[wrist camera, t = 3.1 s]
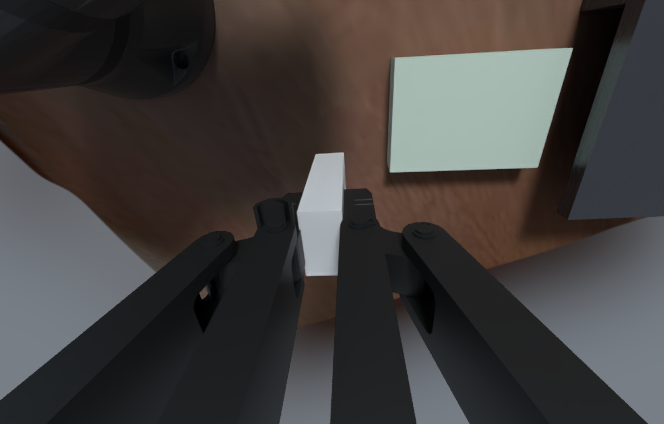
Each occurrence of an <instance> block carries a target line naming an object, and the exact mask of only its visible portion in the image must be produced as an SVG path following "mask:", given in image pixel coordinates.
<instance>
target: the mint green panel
mask: <svg viewBox="0 0 664 424" xmlns="http://www.w3.org/2000/svg"><path fill="white" fill-rule="evenodd" d="M572 50H573V48H553V49H536V50H518V51H501V52H484V53H467V54H450V55H433V56H416V57H398V58H391V69H390V95H389V121H388V147H387V166H388V168H389V171H390V172H420V171H450V170H480V169H510V168H538V165H539V161H540V158H541V155H542V151H543V148H544V145H545V141H546V138H547V134H548V131H549V128H550V124H551V121H552V118H553V114H554V111H555V107H556V104H557V101H558V97H559V94H560V91H561V87H562V84H563V80H564V77H565V74H566V70H567V67H568V64H569V60H570V57H571V53H572Z"/></svg>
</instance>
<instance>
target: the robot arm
mask: <svg viewBox="0 0 664 424" xmlns="http://www.w3.org/2000/svg"><path fill="white" fill-rule="evenodd" d="M214 26H215V24H214V7H213V0H0V94H8V93H17V92H25V91H34V90H42V89H51V88H59V87H68V86H75V85H79V86H82V87H86V88H89V89H93V90H97V91H100V92H104V93H107V94H111V95H115V96H118V97H123V98H129V99H152V98H157V97H162V96H166V95H170V94H173V93H176V92H178V91H180V90H182V89H184V88H185V87H187V86H188V85H189V84H191V83H192V82H193V81H194V80H195V79H196V78H197V76H198V75H199V74H200V72H201V71H202V70H203V68H204V66H205V64H206V62H207V60H208V57H209V55H210V52H211V48H212V43H213V38H214ZM253 209H254V214H255V218H256V222H257V227H258V229H257V231H256V233H255V235H254V237H251V238H248V239H244V240H239V241H235V239H234V236H233V235H232V234H231V233H230V232H226V231H215V232H210V233H208V234H206V235H204V236H202V237H200V238H199V239H197V240H196V241H194V242H193V243H192V244H191V245H190V246H188V247H187V248H186V249H185V250H183V251H182V252H181V253H180V254H179V255H177V256H176V257H175V258H174V259H172V260H171V261H170V262H169V263H168V264H166V265H165V266H164V267H163V268H161V269H160V270H159V271H158V272H157V273H155V274H154V275H153V276H152V277H150V278H149V279H148V280H147V281H146V282H144V283H143V284H142V285H141V286H140V287H138V288H137V289H136V290H135V291H133V292H132V293H131V294H130V295H128V296H127V297H126V298H125V299H124V300H122V301H121V302H120V303H119V304H117V305H116V306H115V307H114V308H113V309H111V310H110V311H109V312H108V313H106V314H105V315H104V316H103V317H102V318H100V319H99V320H98V321H97V322H96V323H94V324H93V325H92V326H91V327H89V328H88V329H87V330H86V331H84V332H83V333H82V334H81V335H80V336H78V337H77V338H76V339H75V340H73V341H72V342H71V343H70V344H69V345H67V346H66V347H65V348H64V349H62V350H61V351H60V352H59V353H58V354H56V355H55V356H54V357H53V358H51V359H50V360H49V361H48V362H47V363H45V364H44V365H43V366H42V367H40V368H39V369H38V370H37V371H36V372H34V373H33V374H32V375H31V376H29V377H28V378H27V379H26V380H25V381H23V382H22V383H21V384H20V385H18V386H17V387H16V388H15V389H14V390H12V391H11V392H10V393H9V394H7V395H6V396H5V397H4V398H3V399H1V400H0V424H279V422H280V416H281V411H282V406H283V400H284V395H285V389H286V383H287V378H288V372H289V367H290V361H291V357H292V351H293V345H294V340H295V335H296V329H297V324H298V318H299V313H300V307H301V302H302V297H303V291H304V286H305V285H304V277H303V272H304V267H305V271H306V276H326V275H338V277H337V298H336V318H335V338H334V358H333V379H332V399H331V420H330V424H416V418H415V413H414V407H413V402H412V397H411V392H410V386H409V381H408V375H407V370H406V364H405V359H404V353H403V348H402V343H401V337H400V333H399V327H398V321H397V316H396V310H395V305H394V299H393V294H392V292H394V293H398V294H399V295H400V298H401V301H402V303H403V305H404V306H405V308H406V310H407V312H408V314H409V315H410V317H411V319H412V321H413V323H414V324H415V326H416V328H417V330H418V331H419V333H420V335H421V337H422V339H423V341H424V342H425V344H426V346H427V348H428V349H429V351H430V353H431V354H432V357H433V359H434V360H435V362H436V364H437V366H438V368H439V369H440V371H441V373H442V375H443V377H444V378H445V380H446V382H447V384H448V385H449V387H450V389H451V391H452V393H453V395H454V396H455V398H456V400H457V402H458V404H459V405H460V407H461V409H462V411H463V413H464V414H465V416H466V418H467V420H468V421H469V423H470V424H648V423H647V422H646V421H644V419H642V418H641V417H640V416H639V415H638V414H637V413H636V412H635V411H634V410H633V409H632V408H631V407H630V406H629V405H628V404H627V403H625V401H624V400H622V399H621V398H620V397H619V396H618V395H617V394H616V393H615V392H614V391H613V390H612V389H611V388H610V387H609V386H608V385H607V384H606V383H605V382H604V381H603V380H602V379H600V378H599V377H598V376H597V375H596V374H595V373H594V372H593V371H592V370H591V369H590V368H589V367H588V366H587V365H586V364H585V363H584V362H583V361H582V360H581V359H579V358H578V357H577V356H576V355H575V354H574V353H573V352H572V351H571V350H570V349H569V348H568V347H567V346H566V345H565V344H564V343H563V342H562V341H561V340H560V339H559V338H557V337H556V336H555V335H554V334H553V333H552V332H551V331H550V330H549V329H548V328H547V327H546V326H545V325H544V324H543V323H542V322H541V321H540V320H539V319H538V318H536V317H535V316H534V315H533V314H532V313H531V312H530V311H529V310H528V309H527V308H526V307H525V306H524V305H523V304H522V303H521V302H520V301H519V300H518V299H517V298H515V297H514V296H513V295H512V294H511V293H510V292H509V291H508V290H507V289H506V288H505V287H504V286H503V285H502V284H501V283H499V281H497V279H496V278H494V277H493V276H492V275H491V274H490V273H489V272H488V271H487V270H486V269H485V268H484V267H483V266H482V265H481V264H480V263H479V262H478V261H477V260H476V259H475V258H473V257H472V256H471V255H470V254H469V253H468V252H467V251H466V250H465V249H464V248H463V247H462V246H461V245H460V244H459V243H458V242H457V241H456V240H455V239H454V238H452V237H451V236H450V235H449V234H448V233H447V232H446V231H445V230H444V229H443V228H441V227H440V226H438V225H435V224H432V223H428V222H416V223H412V224H408V225H407V226H406V227H404V229H403V231H402V233H398V232H392V231H389V230H386V229H384V228H382V227H380V224H379V222H378V220H377V219H376V215H375V209H374V204H373V198H372V193H371V192H370V191H369V190H367V189H366V188H364V189H346V182H345V164H344V152H343V153H326V154H316V155H315V158H314V161H313V164H312V167H311V170H310V173H309V176H308V179H307V182H306V185H305V189H304V192H300V193H288V194H286V195H285V196H284V197H282V198H272V199H267V200H264V201H261V202H259V203H257V204H256V205H255V206H254V207H253ZM205 286H206V289H207V291H208V295H207V296H206V297H205V298H204V299H201V297H200V294H199V293H200V292H201V291H202V289H203V288H204V287H205Z"/></svg>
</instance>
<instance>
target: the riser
mask: <svg viewBox="0 0 664 424" xmlns="http://www.w3.org/2000/svg"><path fill="white" fill-rule="evenodd" d="M614 8H624V11H623V14H622V17H621V20H620V23H619V26H618V29H617V32H616V35H615V38H614V41H613V45H612V48H611V51H610V54H609V57H608V60H607V63H606V66H605V69H604V72H603V75H602V78H601V81H600V84H599V87H598V90H597V93H596V96H595V99H594V102H593V105H592V108H591V111H590V114H589V117H588V120H587V123H586V126H585V129H584V132H583V135H582V138H581V142H580V145H579V148H578V151H577V154H576V157H575V160H574V163H573V166H572V169H571V172H570V175H569V178H568V181H567V184H566V187H565V190H564V193H563V196H562V199H561V202H560V205H559V208H558V211H557V212H558V213H559V214H560V215H562V216H563V217H564V218H566V219H567V220H581V219H606V218H631V217H656V216H664V0H583V3H582V7H581V10H580V12H581V11H592V10H603V9H614Z"/></svg>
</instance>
